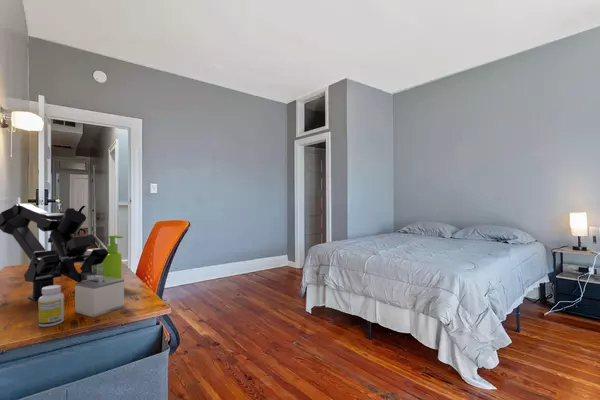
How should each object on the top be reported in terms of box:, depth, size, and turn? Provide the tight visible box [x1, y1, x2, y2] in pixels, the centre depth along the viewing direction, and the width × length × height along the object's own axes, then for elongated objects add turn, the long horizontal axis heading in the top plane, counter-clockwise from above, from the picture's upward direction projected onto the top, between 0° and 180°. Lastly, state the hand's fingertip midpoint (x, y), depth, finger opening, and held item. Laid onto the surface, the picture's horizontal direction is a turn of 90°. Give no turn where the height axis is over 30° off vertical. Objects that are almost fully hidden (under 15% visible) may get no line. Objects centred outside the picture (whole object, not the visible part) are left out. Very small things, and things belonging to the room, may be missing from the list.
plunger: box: [77, 271, 103, 283], centre depth 94 cm, size 11×3×8 cm, turn 65°
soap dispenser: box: [103, 234, 124, 279], centre depth 115 cm, size 6×7×20 cm
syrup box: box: [84, 248, 107, 281], centre depth 117 cm, size 6×6×14 cm
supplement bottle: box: [37, 284, 65, 328], centre depth 82 cm, size 5×5×10 cm
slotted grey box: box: [74, 277, 125, 318], centre depth 92 cm, size 9×9×9 cm
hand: (85, 280), depth 95 cm, fingers closed on plunger, 3 cm apart
